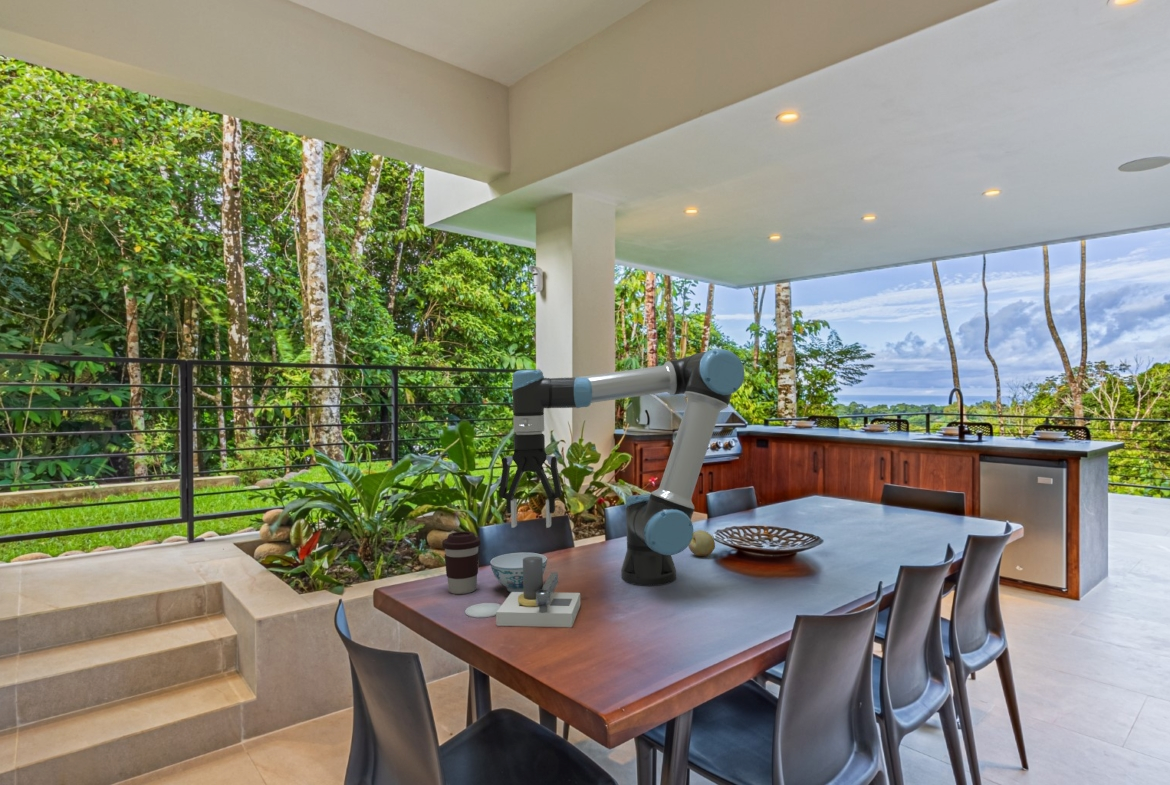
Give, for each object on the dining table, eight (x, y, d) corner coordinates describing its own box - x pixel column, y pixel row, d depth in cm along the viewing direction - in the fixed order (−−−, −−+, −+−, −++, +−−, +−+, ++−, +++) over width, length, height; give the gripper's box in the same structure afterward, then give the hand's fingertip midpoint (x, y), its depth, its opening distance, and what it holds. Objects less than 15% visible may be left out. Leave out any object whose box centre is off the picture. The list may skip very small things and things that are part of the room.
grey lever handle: (548, 605, 131) (548, 594, 131) (534, 605, 132) (534, 594, 132) (561, 582, 148) (561, 572, 148) (548, 582, 148) (548, 572, 148)
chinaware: (480, 595, 155) (479, 565, 155) (507, 578, 169) (506, 551, 169) (533, 600, 150) (532, 569, 150) (556, 582, 164) (555, 554, 164)
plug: (552, 609, 143) (550, 555, 143) (546, 621, 135) (544, 563, 136) (522, 609, 143) (521, 554, 144) (515, 620, 136) (513, 563, 136)
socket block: (580, 605, 145) (580, 587, 145) (571, 627, 131) (571, 607, 131) (512, 604, 147) (511, 586, 147) (496, 625, 133) (496, 605, 133)
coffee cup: (473, 597, 153) (471, 538, 154) (437, 595, 155) (435, 537, 156) (487, 585, 163) (485, 530, 163) (453, 584, 165) (451, 529, 165)
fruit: (688, 553, 191) (687, 528, 191) (714, 553, 190) (713, 528, 190) (688, 559, 184) (688, 533, 184) (716, 559, 182) (715, 533, 182)
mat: (507, 604, 147) (507, 603, 147) (497, 618, 138) (497, 616, 138) (472, 604, 148) (472, 602, 148) (460, 617, 139) (459, 615, 139)
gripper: (483, 435, 144) (485, 529, 144) (568, 433, 142) (571, 529, 141) (492, 433, 152) (494, 523, 151) (573, 431, 149) (575, 523, 149)
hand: (531, 526), depth 146 cm, fingers open, 8 cm apart
